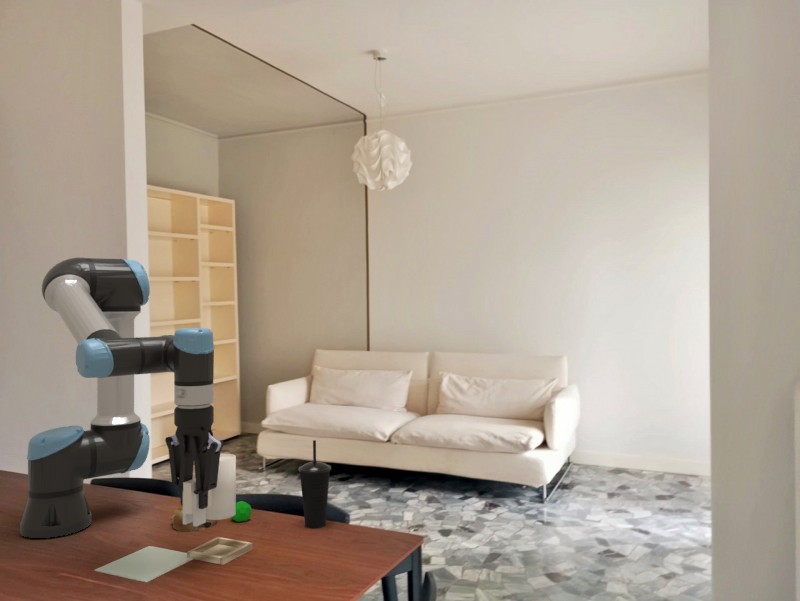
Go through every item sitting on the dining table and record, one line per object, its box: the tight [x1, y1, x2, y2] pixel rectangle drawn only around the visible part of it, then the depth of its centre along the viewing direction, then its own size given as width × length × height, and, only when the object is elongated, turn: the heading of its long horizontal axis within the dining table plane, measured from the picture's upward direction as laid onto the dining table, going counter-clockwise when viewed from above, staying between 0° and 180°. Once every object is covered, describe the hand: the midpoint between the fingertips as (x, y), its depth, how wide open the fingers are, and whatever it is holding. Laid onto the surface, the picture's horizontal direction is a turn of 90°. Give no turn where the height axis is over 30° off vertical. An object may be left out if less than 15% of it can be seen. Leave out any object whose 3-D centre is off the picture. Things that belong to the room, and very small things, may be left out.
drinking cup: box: [298, 440, 332, 529], centre depth 153 cm, size 8×8×20 cm
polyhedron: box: [231, 500, 253, 523], centre depth 156 cm, size 5×5×5 cm
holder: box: [186, 536, 254, 566], centre depth 135 cm, size 9×9×2 cm
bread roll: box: [170, 505, 218, 532], centre depth 153 cm, size 10×10×8 cm
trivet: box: [93, 545, 195, 583], centre depth 130 cm, size 14×14×1 cm
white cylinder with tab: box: [183, 452, 237, 521], centre depth 132 cm, size 13×7×12 cm, turn 155°
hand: (194, 523), depth 128 cm, fingers closed on white cylinder with tab, 2 cm apart
